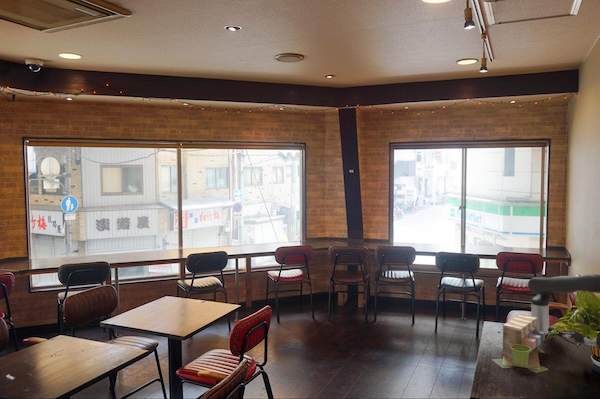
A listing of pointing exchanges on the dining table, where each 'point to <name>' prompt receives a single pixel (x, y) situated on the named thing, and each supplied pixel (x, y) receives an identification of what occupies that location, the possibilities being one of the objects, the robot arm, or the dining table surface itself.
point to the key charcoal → (539, 334)
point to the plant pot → (520, 354)
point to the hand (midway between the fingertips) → (548, 329)
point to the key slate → (537, 337)
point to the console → (517, 332)
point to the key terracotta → (529, 342)
